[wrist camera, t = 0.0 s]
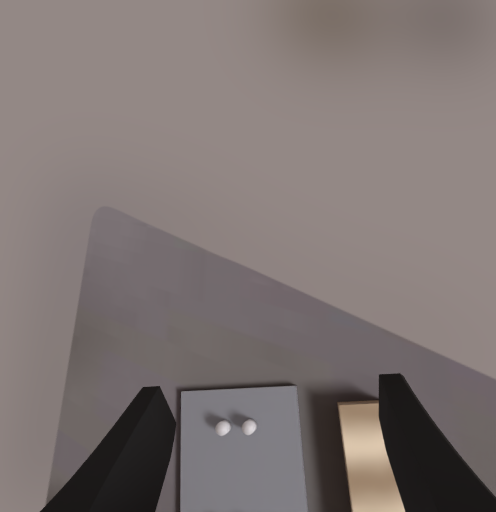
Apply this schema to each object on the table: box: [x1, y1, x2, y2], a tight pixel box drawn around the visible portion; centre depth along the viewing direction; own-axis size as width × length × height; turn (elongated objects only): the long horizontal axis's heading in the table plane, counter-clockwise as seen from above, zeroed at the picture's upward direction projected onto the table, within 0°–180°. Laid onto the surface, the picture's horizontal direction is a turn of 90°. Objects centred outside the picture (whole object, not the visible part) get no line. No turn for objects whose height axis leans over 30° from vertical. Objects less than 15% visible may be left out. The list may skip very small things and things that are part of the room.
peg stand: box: [180, 385, 308, 512], centre depth 39 cm, size 18×14×3 cm
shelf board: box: [337, 400, 405, 512], centre depth 36 cm, size 14×5×4 cm, turn 3°
